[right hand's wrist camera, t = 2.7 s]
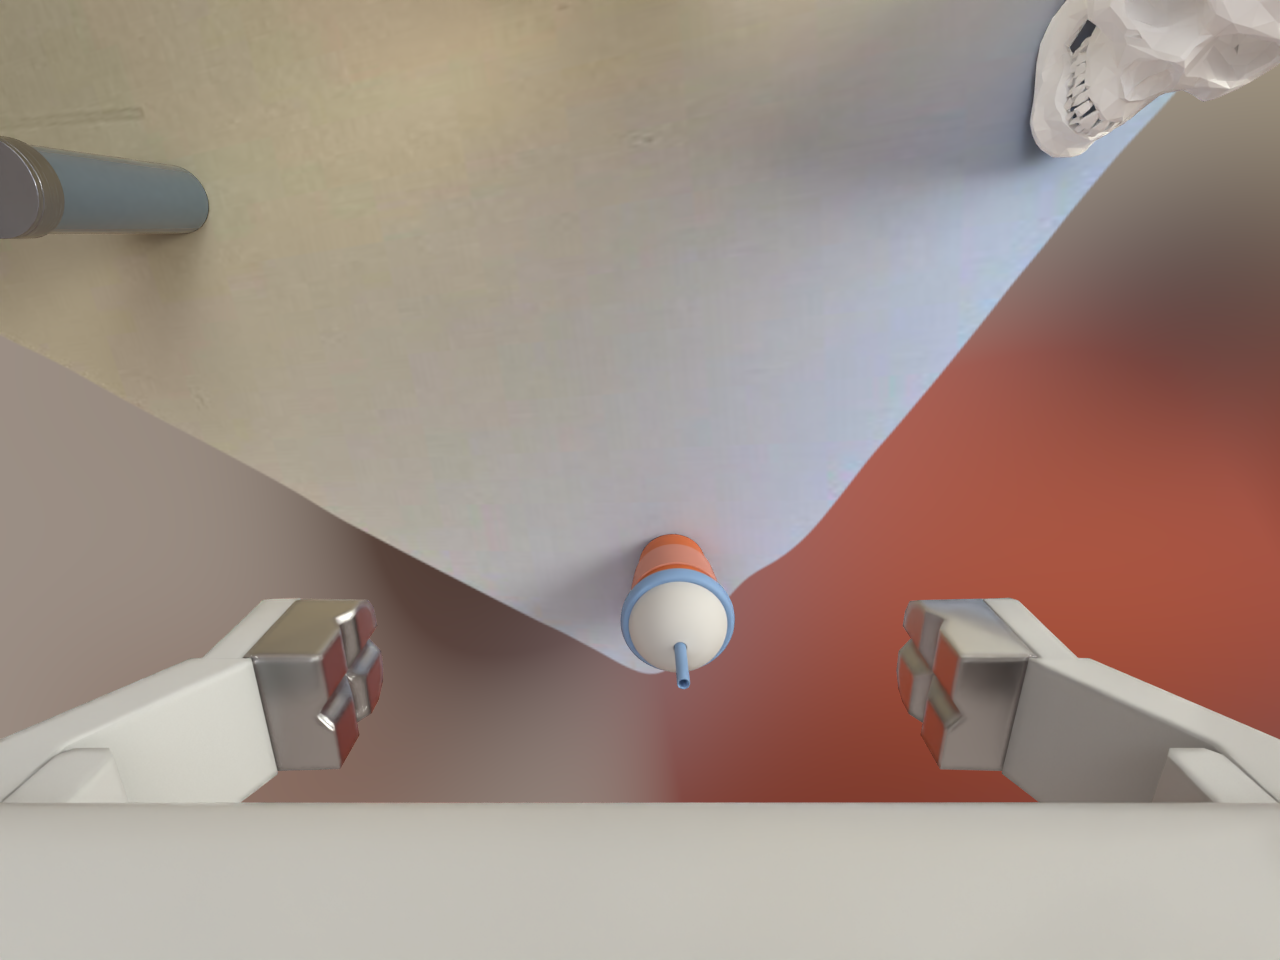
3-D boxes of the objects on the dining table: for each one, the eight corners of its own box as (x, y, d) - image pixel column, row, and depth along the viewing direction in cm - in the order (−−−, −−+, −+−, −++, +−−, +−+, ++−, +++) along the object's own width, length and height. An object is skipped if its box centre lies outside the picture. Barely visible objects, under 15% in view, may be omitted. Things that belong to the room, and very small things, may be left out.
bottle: (175, 245, 54) (-2, 250, 39) (130, 187, 52) (-72, 169, 37) (222, 212, 53) (59, 204, 38) (177, 151, 51) (-10, 119, 37)
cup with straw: (614, 595, 64) (605, 724, 48) (634, 509, 61) (633, 615, 44) (706, 613, 65) (730, 747, 48) (731, 529, 62) (765, 640, 45)
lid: (19, 256, 40) (-9, 257, 39) (-54, 169, 39) (-87, 166, 37) (85, 207, 39) (59, 205, 38) (12, 116, 38) (-18, 111, 36)
